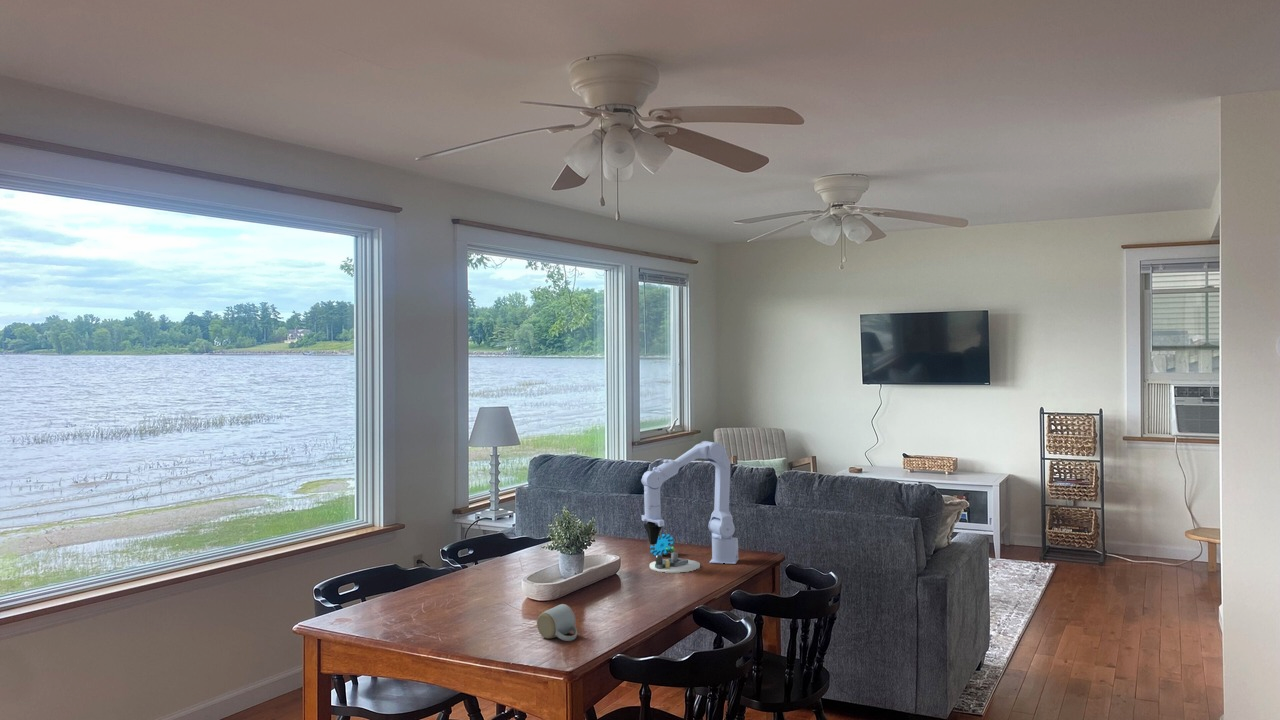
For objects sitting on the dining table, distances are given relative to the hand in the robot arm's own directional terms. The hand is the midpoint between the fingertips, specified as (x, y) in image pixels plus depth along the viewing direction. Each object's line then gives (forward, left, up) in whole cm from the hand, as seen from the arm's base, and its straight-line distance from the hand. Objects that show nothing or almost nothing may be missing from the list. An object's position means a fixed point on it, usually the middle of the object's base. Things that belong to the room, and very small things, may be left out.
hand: (653, 543), depth 307 cm
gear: (+2, -23, -9) cm, 25 cm away
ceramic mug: (+6, +79, -9) cm, 80 cm away
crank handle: (-5, -2, -8) cm, 9 cm away
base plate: (-7, -5, -9) cm, 12 cm away
